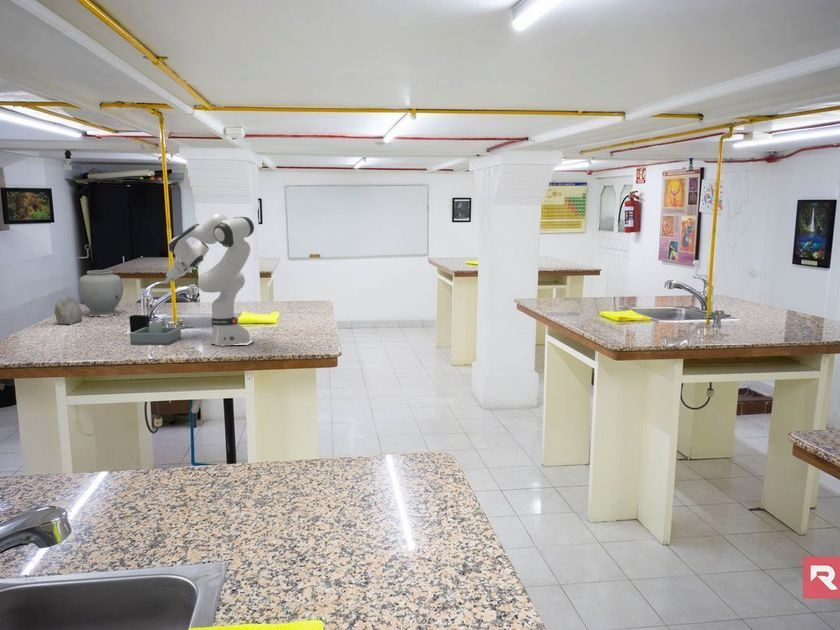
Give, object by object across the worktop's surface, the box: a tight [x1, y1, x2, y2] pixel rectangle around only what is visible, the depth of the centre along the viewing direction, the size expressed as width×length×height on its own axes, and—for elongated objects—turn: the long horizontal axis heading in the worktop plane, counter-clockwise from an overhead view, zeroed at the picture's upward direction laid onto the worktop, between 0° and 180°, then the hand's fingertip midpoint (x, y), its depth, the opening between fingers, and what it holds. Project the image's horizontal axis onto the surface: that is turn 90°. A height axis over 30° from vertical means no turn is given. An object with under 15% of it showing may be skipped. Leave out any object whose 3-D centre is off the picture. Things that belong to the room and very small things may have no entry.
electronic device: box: [128, 314, 150, 333], centre depth 373 cm, size 4×10×10 cm, turn 78°
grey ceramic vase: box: [77, 269, 124, 316], centre depth 431 cm, size 27×27×30 cm
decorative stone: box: [54, 296, 83, 325], centre depth 403 cm, size 17×20×10 cm
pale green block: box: [149, 321, 163, 333], centre depth 348 cm, size 5×5×9 cm
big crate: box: [129, 327, 182, 346], centre depth 349 cm, size 20×18×6 cm
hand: (168, 281), depth 357 cm, fingers open, 8 cm apart
